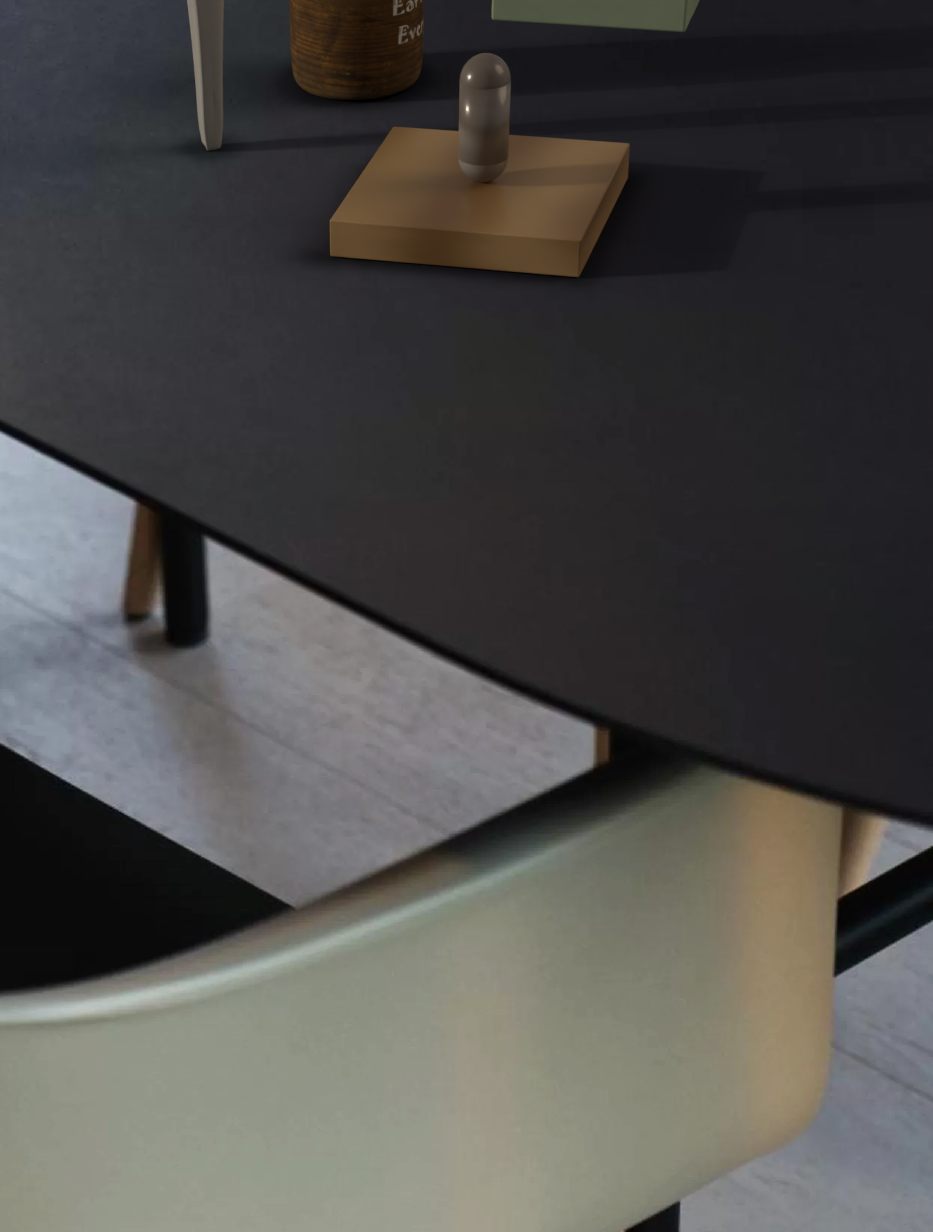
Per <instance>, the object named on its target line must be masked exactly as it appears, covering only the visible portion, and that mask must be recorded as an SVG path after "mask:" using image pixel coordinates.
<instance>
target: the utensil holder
mask: <svg viewBox="0 0 933 1232" xmlns="http://www.w3.org/2000/svg"><path fill="white" fill-rule="evenodd" d="M289 40H290V56H291V57H290V60H291V69H292V74H293V78H294V80H295V82H296V84H297V85H298V86H299V87H300V88H301V89H302V90H304V91H305V92H307V93H309V94H311V95H314V96H317V97H320V98H325V99H331V100H337V101H338V100H339V101H367V100H376V99H381V98H386V97H390V96H393V95H397V94H398V93H401V92H403V91H405V90H407V89H409V88H410V87H412V86H413V85H414V84H415V83H416V82H417V80H418V79H419V77H420V74H421V71H422V65H423V56H424V0H289Z"/></svg>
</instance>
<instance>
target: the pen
mask: <svg viewBox="0 0 933 1232" xmlns="http://www.w3.org/2000/svg"><path fill="white" fill-rule="evenodd" d="M186 3H187V9H188V10H187V11H188V12H187V13H188V22H189V30H190V38H191V47H192V48H191V50H192V57H193V58H192V59H193V60H192V61H193V71H194V80H195V94H196V95H195V96H196V109H197V110H196V111H197V112H196V113H197V121H198V130H199V134H200V139H201V143H202V144H203V146H204V147H205V149H206V151H208V152H210V151H215V150H220V148H221V147H222V141H223V132H224V131H223V130H224V129H223V128H224V87H223V86H224V85H223V84H224V83H223V82H224V81H223V77H224V76H223V75H224V73H223V72H224V71H223V70H224V69H223V67H224V62H223V61H224V17H225V16H224V13H225V12H224V11H225V0H186Z"/></svg>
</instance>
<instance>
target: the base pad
mask: <svg viewBox="0 0 933 1232" xmlns="http://www.w3.org/2000/svg"><path fill="white" fill-rule="evenodd" d="M511 85H512V77H511V71H510V68H509V66H508V64H507V63H506V61H504V59H503V58H502V57H500V56H499V55H496V54H494V53H492V52H482V53H478V54H476V55H473V56H472V57H470V58H469V59H468V60H467V61H466V62H465V63H464V65H463V67H462V69H461V71H460V74H459V90H458V91H459V93H458V94H459V95H458V130H447V129H433V128H420V127H419V128H418V127H405V126H393V127H392V128H391V130H390V131H389V133H388V134H387V135H386V137H385V138H384V140H383V141H382V143H381V144H380V145H379V147H378V148H377V150H376V152H375V153H374V154H373V156H372V158H371V159H370V161H369V162H368V164H367V165H366V166H365V168H364V169H363V171H362V172H361V173H360V175H359V177H358V178H357V180H356V181H355V183H354V184H353V185H352V187H351V189H350V190H349V191H348V193H347V195H346V196H345V198H344V199H343V201H342V202H341V203H340V205H339V206H338V207H337V209H336V211H335V212H334V213H333V215H332V216H331V218H330V219H329V255H330V257H335V258H344V259H345V258H346V259H359V260H371V261H382V262H393V263H404V264H406V263H407V264H417V265H428V266H429V265H430V266H442V267H453V268H463V269H464V268H465V269H475V270H476V269H477V270H487V271H489V270H490V271H500V272H513V273H522V274H533V275H535V274H536V275H547V276H558V277H559V276H560V277H570V278H580V276H581V274H582V272H583V270H584V268H585V266H586V265H587V262H588V260H589V258H590V256H591V254H592V252H593V249H594V248H595V246H596V243H597V242H598V240H599V238H600V236H601V233H602V231H603V229H604V227H605V226H606V223H607V222H608V219H609V218H610V215H611V214H612V212H613V209H614V208H615V205H616V203H617V201H618V199H619V197H620V195H621V193H622V191H623V189H624V186H626V185H625V184H626V182H627V181H628V179H629V167H630V165H629V164H630V148H631V144H630V143H629V142H615V141H602V140H601V141H600V140H586V139H574V138H559V137H546V136H533V135H531V136H530V135H518V134H510V124H511V123H510V121H511V90H512V86H511Z"/></svg>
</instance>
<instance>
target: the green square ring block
mask: <svg viewBox="0 0 933 1232" xmlns="http://www.w3.org/2000/svg"><path fill="white" fill-rule="evenodd" d="M699 3H700V0H491V19H492V21H501V22H502V21H503V22H516V23H531V24H532V23H533V24H549V25H563V26H564V25H565V26H580V27H595V28H596V27H597V28H608V29H609V28H611V29H625V30H626V29H627V30H639V31H641V30H642V31H658V32H672V33H673V32H674V33H685V32H686V31H687V29H688V26H689V24H690V21H691V20H692V17H693V16H694V14H695V12H696V9H697V7H698V5H699Z"/></svg>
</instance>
